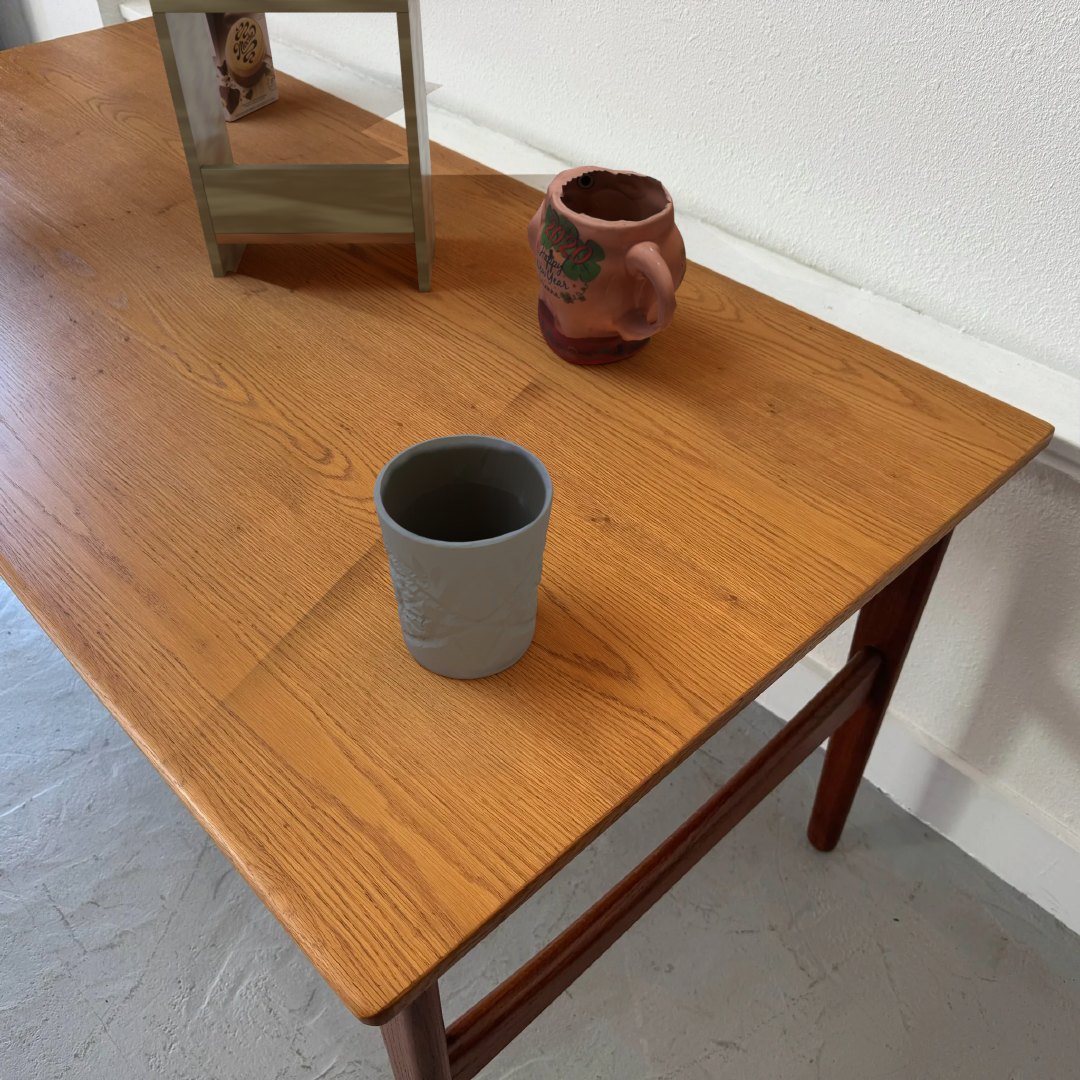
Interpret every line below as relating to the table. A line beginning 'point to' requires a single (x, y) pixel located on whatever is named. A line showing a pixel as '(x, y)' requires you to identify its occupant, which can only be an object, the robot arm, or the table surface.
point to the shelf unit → (295, 189)
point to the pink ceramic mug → (605, 263)
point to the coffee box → (242, 61)
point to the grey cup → (465, 549)
